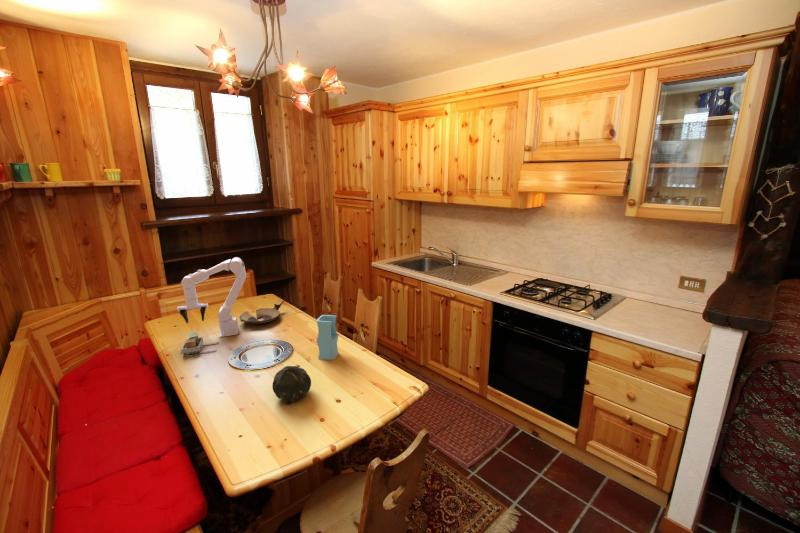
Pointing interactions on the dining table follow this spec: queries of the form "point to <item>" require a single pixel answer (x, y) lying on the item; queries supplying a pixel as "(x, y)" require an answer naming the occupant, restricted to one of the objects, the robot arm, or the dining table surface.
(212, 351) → the rails
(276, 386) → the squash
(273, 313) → the broken bowl
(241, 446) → the dining table surface
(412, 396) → the dining table surface
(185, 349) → the grey shallow tray
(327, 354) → the vase
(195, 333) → the green block
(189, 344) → the copper block
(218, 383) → the dining table surface
